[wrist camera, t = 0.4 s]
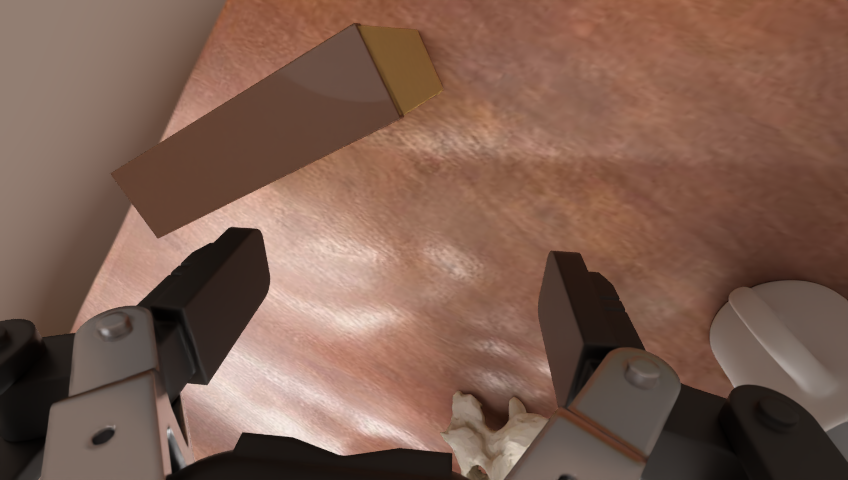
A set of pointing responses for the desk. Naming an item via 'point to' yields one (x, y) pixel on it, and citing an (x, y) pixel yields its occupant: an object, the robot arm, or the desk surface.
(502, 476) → the decorative object
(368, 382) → the desk surface
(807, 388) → the mug
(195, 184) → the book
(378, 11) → the desk surface
